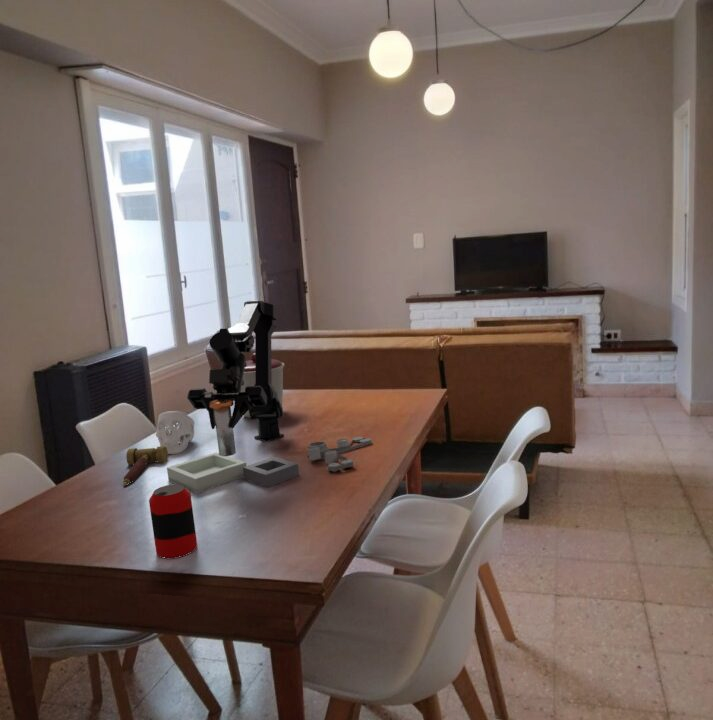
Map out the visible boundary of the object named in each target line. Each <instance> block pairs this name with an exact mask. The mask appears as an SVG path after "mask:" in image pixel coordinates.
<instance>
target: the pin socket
mask: <svg viewBox="0 0 713 720" xmlns="http://www.w3.org/2000/svg"><path fill="white" fill-rule="evenodd" d="M243 471H244V477H243V479H244V480H246V481H249V482H252V483H254V484H256V485H260V486H263V487H265V488H270V487H271V486H275V485H277V484H279V483H282V482H285V481H287V480H291V479H293V478H298V477H299V476H300V469H299V463H297V462H294V461H290V460H287V459H283V458H282V457H281V458H280V457H278V456H273V457H270V458H268V459H264V460H260V461H257V462H254V463H252V464H248V465H246V466H245V467H243Z"/></svg>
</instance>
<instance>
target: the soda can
mask: <svg viewBox="0 0 713 720" xmlns="http://www.w3.org/2000/svg"><path fill="white" fill-rule="evenodd" d="M148 504H149V509H150V518H151V524H152V532H153V539H154V546H155V553H156V555H157V556H159V557H160V556H161V557H160V558H162V557H165V558H164V559H167V558H171V559H176V558H175V557H179V556H182V557H184V556H183V555H185V556H187V555H186V554H188V553H190V552H191V553H193V552H194V551H195V550H196V548H197V546H198V540H197V533H196V526H195V525H196V523H195V519H194V518H195V517H194V511H193V502H192V494H191V492H190V490H188V489H186V488H185V487H184V486H183V485H177V484H167V485H163V486H160V487H158V488H156V489H155V490H153V492H152V494H151V496H150V497H149V500H148ZM194 549H195V550H194ZM193 550H194V551H193ZM192 551H193V552H192ZM191 553H190V554H191ZM188 555H189V554H188ZM179 558H180V557H179Z"/></svg>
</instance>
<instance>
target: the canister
mask: <svg viewBox="0 0 713 720" xmlns="http://www.w3.org/2000/svg"><path fill="white" fill-rule="evenodd" d="M246 364H247V367H245V368H244V374H243V381H244V385H243V386H241V392H245V388H246V387H247V386H254V385H255V352H254V353H252V354H251V355H250V359H249V360H246ZM284 367H285V363H284V362H282V361H280V360H278V359H274V358H271V373H272V386H273V387H274V389H275V391H276V392H277V398H278V399H279V401H280V403H281V405H282V406H283V397H284V396H283V395H284V394H283V393H284V391H283V390H284V388H283V387H284V383H283V382H284ZM275 413H276V412H275ZM243 417H245V418H249V419H251V417H250V413H249V410H248V411H247V412H246V413H245V414H244V415H243Z"/></svg>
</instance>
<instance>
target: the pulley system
mask: <svg viewBox="0 0 713 720" xmlns="http://www.w3.org/2000/svg"><path fill="white" fill-rule="evenodd" d="M354 442H360V443H357V444H356V445H353V444H354ZM336 444H337V447H335V448H329V447H328V446H327V441H324V440H323V441H316V442H315V441H314V442H311V443H309V444H307V451H306V453H307V454H306V455H307V458H309V461H317V460H324V462H325V464H326V465H327V467H326V468H327V471H330V472H333V473H336V472H338V471H339V470H342V469H346V468H350V467H353V466H354V461H353V460H354V459H350V458H348V457H345V456H343V455H341V454H343V453H346V452H350V451H354V450H355V449H356V448H357V449H359V447H360V448H362V446H363V447H365V445H366V446H369V445H368V444H370V445H372V438H366V437H363V436H356V437H354V438H352V440H351V442H350V443H349V440H348V438H340V439H339V438H338V439H337V440H336ZM351 444H352V445H351ZM339 459H340V460H342V461H340V463H341V464H340V463H338V460H339Z"/></svg>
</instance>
